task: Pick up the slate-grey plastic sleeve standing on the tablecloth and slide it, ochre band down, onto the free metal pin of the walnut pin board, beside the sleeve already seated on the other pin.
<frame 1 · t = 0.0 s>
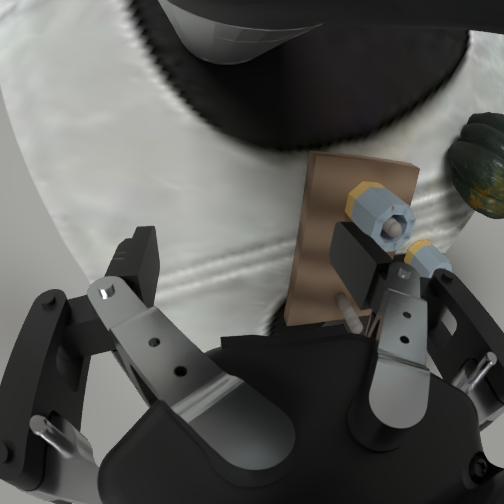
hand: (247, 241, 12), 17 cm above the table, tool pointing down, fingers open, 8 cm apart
seated sleeve: (366, 203, 30), point 2 cm above the table, touching pin board
slate sleeve: (417, 254, 38), on the table
squash: (468, 149, 30), on the table
pin board: (346, 245, 35), on the table
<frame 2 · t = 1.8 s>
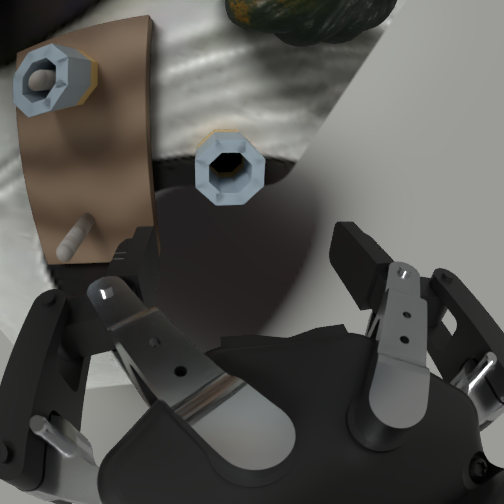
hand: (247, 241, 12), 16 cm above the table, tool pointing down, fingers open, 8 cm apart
seated sleeve: (72, 79, 17), point 2 cm above the table, touching pin board
slate sleeve: (224, 156, 25), on the table
pin board: (84, 147, 22), on the table
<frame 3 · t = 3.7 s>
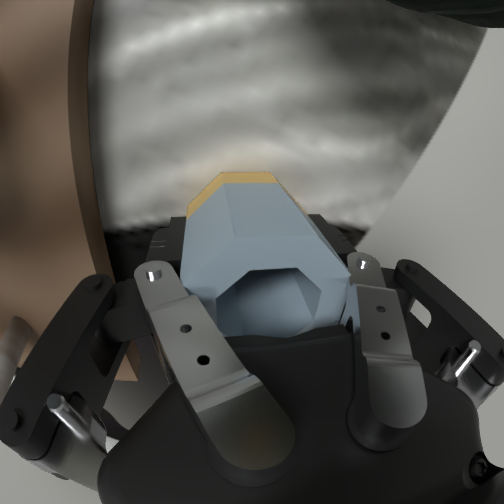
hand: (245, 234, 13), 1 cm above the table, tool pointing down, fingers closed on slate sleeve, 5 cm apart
slate sleeve: (243, 224, 14), on the table, touching gripper
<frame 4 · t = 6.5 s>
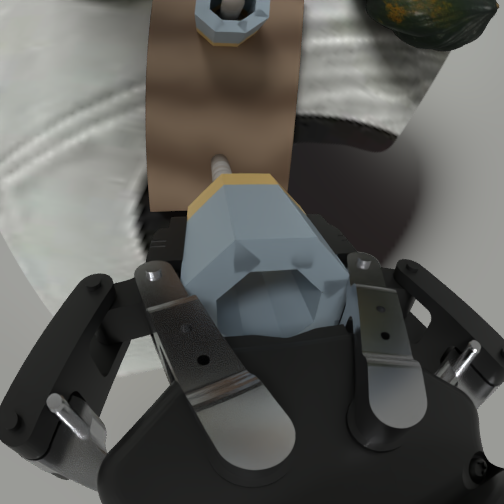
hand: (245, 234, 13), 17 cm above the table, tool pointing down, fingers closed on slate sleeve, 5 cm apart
seated sleeve: (227, 22, 18), point 2 cm above the table, touching pin board
slate sleeve: (243, 225, 14), point 16 cm above the table, touching gripper
squash: (393, 0, 19), on the table
pin board: (221, 90, 24), on the table
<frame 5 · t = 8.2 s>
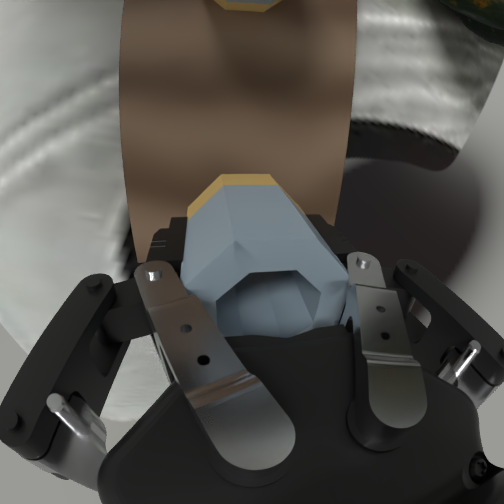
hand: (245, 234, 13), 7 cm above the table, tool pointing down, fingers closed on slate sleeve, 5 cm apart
slate sleeve: (243, 225, 14), point 6 cm above the table, touching gripper
pin board: (237, 79, 15), on the table
when the fingers open (4 cm above the table, at t = 9.4 s): slate sleeve stays where it is, resting on pin board.
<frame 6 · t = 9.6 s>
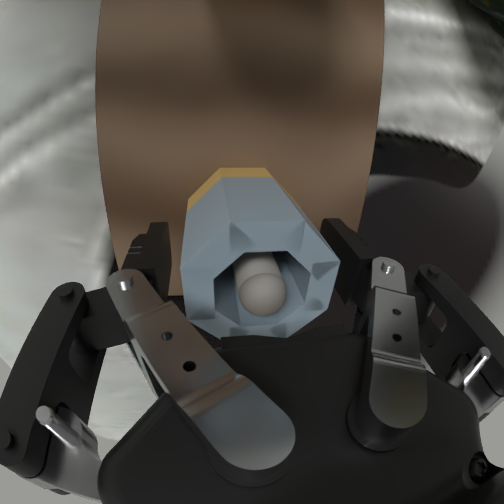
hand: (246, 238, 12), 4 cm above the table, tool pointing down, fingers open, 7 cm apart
slate sleeve: (240, 216, 14), point 2 cm above the table, touching pin board
pin board: (241, 79, 12), on the table
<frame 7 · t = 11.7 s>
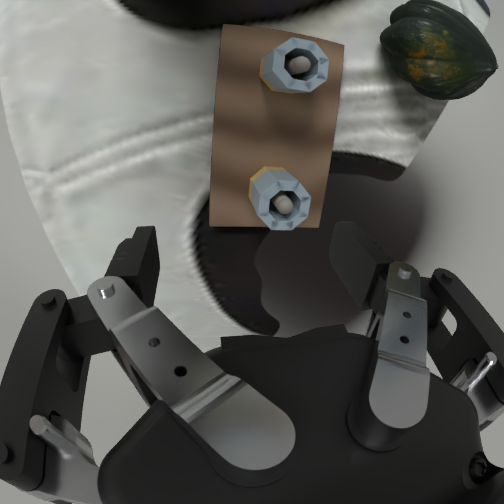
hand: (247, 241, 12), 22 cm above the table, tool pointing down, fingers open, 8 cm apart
seated sleeve: (283, 70, 26), point 2 cm above the table, touching pin board
slate sleeve: (271, 188, 32), point 2 cm above the table, touching pin board
squash: (410, 50, 27), on the table
pin board: (273, 128, 31), on the table
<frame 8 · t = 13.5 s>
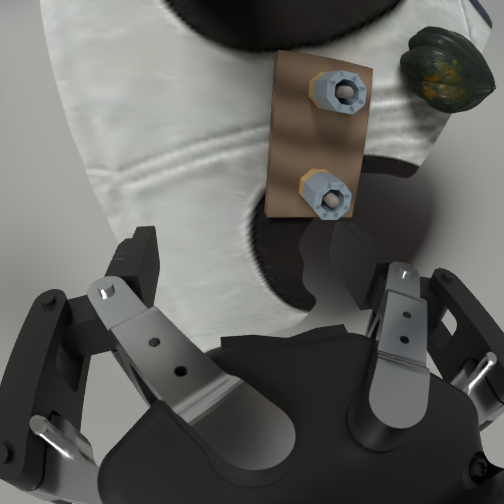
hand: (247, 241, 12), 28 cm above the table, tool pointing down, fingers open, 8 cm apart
seated sleeve: (326, 91, 32), point 2 cm above the table, touching pin board
slate sleeve: (316, 186, 39), point 2 cm above the table, touching pin board
squash: (423, 67, 32), on the table
pin board: (317, 136, 37), on the table
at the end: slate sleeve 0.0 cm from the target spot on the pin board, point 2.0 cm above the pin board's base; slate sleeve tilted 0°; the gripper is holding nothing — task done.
